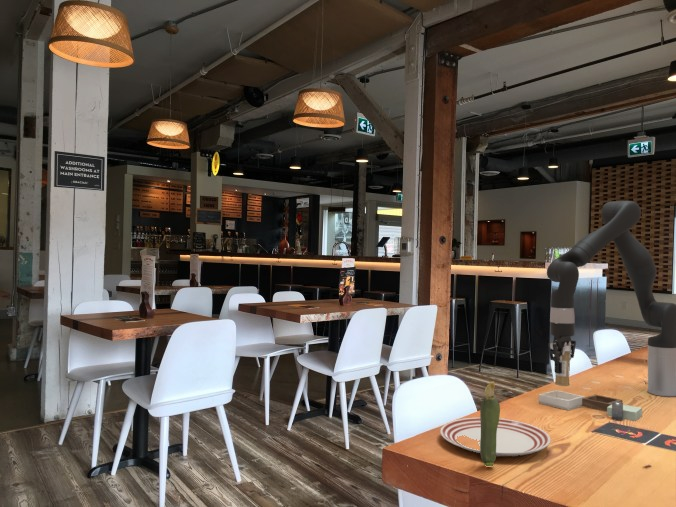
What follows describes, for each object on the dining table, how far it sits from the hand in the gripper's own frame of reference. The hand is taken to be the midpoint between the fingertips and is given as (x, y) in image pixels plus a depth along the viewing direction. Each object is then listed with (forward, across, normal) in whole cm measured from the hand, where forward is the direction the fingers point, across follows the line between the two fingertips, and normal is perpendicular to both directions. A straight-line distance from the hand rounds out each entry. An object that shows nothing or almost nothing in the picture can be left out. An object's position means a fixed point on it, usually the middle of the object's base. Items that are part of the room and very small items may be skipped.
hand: (562, 372), depth 177 cm
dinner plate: (+11, +51, +10) cm, 53 cm away
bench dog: (+11, +2, +19) cm, 22 cm away
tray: (+11, 0, 0) cm, 11 cm away
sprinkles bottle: (+4, 0, 0) cm, 4 cm away
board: (+11, -3, +19) cm, 22 cm away
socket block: (+11, -8, +9) cm, 16 cm away
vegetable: (+11, +65, +19) cm, 69 cm away
